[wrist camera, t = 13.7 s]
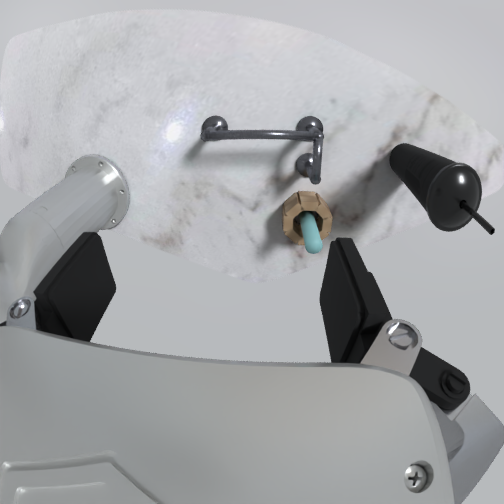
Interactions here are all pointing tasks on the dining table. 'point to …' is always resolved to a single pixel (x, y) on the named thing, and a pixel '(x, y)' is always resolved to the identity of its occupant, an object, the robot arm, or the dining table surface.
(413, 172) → the drinking cup
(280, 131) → the corner grab bar
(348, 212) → the dining table surface
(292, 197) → the ring
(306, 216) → the peg
